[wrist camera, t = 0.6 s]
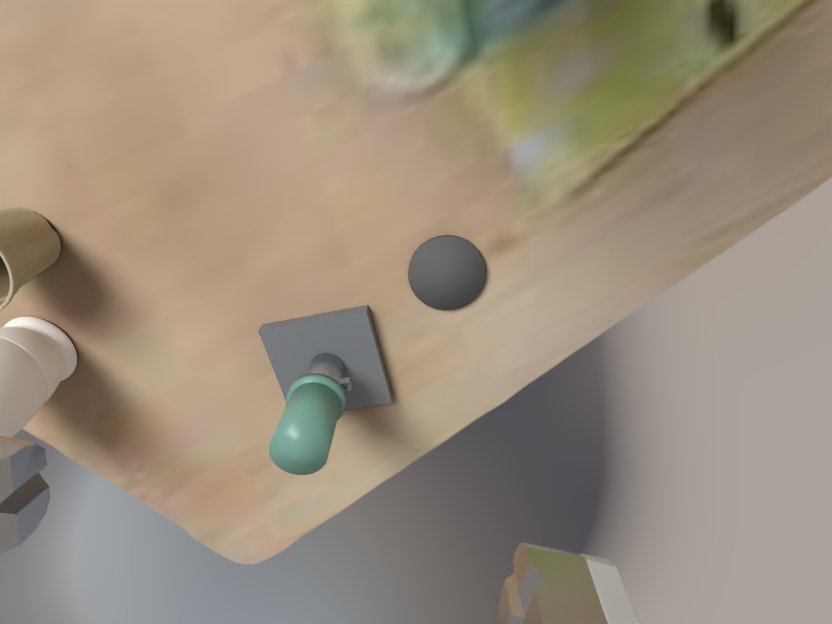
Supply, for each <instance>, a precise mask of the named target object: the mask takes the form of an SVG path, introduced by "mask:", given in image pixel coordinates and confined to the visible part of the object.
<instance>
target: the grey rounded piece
mask: <svg viewBox="0 0 832 624" xmlns="http://www.w3.org/2000/svg"><path fill="white" fill-rule="evenodd" d="M309 373H320V374H325V375H327V376H330V377H332V378H333V379H335V380H336V381H338V382H339V383H340V385H341V386H342V387H343V389H344V391H345V392H346V391H351V388H352V383H351V380H350V377H348V378H344V375H345V364H344V362H343V361H342V360H341V358H339V357H338V356H336V355H334V354H332V353H321V354H318V355H316V356H315V357H314V358H313V359H312V360H311V362H310V365H309V367H308V369H307V372H306V374H309Z"/></svg>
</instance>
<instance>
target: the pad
mask: <svg viewBox="0 0 832 624" xmlns="http://www.w3.org/2000/svg"><path fill="white" fill-rule="evenodd" d="M408 278H409V283H410V286H411V289H412V291H413V292H414V294H415V295H416V296H417V298H418V299H419V300H421V301H422V302H423V303H425V304H426V305H428V306H430V307H433V308H436V309H442V310H451V309H456V308H460V307H462V306H464V305H466V304H468V303H470V302H471V301H472V300H473V299H475V298H476V296H477V295H478V294H479V293H480V291H481V289H482V287H483V285H484V282H485V278H486V267H485V263H484V260H483V258H482V255H481V254H480V252H479V251H478V249H477V248H476V247H475V246H474V245H473V244H472V243H470V242H469V241H467V240H465V239H463V238H461V237H457V236H451V235H444V236H438V237H435V238H432V239H430V240H428V241H426V242H425V243H423V244H422V245H421V246H420V247H419V248H418V249H417V250H416V251H415V253H414V254H413V256H412V258H411V261H410V264H409V270H408Z"/></svg>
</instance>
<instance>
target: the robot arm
mask: <svg viewBox="0 0 832 624" xmlns="http://www.w3.org/2000/svg"><path fill="white" fill-rule="evenodd" d="M46 466H47V459H46V452H45V448H43V447H41V446H39V445H37V444H35V443H30V442H26V441H22V440H17V439H13V438H9V437H4V436H0V554H1V553H3V552H6V551H8V550H10V549H12V548H15V547H17V546H19V545H20V544H22V542H24V541H25V540H26V539H27V538H28V537H29V536H30V535H31V534H32V533H33V532H34V531H35V530H36V528H37V527H38V525H39V523H40V522H41V520H42V518H43V517H44V515H45V514H46V511H47V507H48V503H49V500H50V495H49V494H50V493H49V486H48V484H47V483H46V482H45V480H44V479H43V478H42V477H41V475H40V474H39V473H40V472H41V471H42V470H43V469H44V468H45V467H46ZM513 563H514V570H515V573H514V574H513V575H511V576H510V577H508V578H507V579H506V580H505V583H504V587H503V590H502V593H501V599H500V607H499V624H640V623H639V620H638V618H637V616H636V614H635V611H634V609H633V606H632V604H631V602H630V599H629V597H628V595H627V592H626V590H625V587H624V585H623V583H622V580H621V578H620V576H619V573H618V571H617V568H616V566H615V564H614V563H613V562H612V561H611V560H610V559H606V558H601V557H596V556H590V555H584V554H577V553H573V552H568V551H562V550H558V549H552V548H547V547H542V546H537V545H532V544H527V543H521V544H520V545H519V546H518V548H517V550H516V553H515V555H514V558H513Z"/></svg>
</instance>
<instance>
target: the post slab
mask: <svg viewBox="0 0 832 624" xmlns="http://www.w3.org/2000/svg"><path fill="white" fill-rule="evenodd" d="M259 334H260V336H261V339H262V341H263V344H264V346H265V349H266V351H267V354H268V356H269V359H270V362H271V364H272V367H273V369H274V372H275V374H276V377H277V379H278V382H279V384H280V387H281V389H282V392H283V395H284V397H285V400H286V397H287V393H288V391H289V389H290V387H291V385H292V383H293V382H294V381H295V380H296V379H297V378H299V377H300V376H302V375H305V374H306V372H307V369H308V367H309V365H310V362H311V360H312V359H313V358H314V357H315V356H316V355H318V354H321V353H332V354H334V355H336V356H338V357H339V358H341V360H342V361H343V362H344V364H345V375H344V378H348V377H350V380H351V383H352V388H351V391H346V392H345V394H346V404H345V408H344V411H346V410H352V409H358V408H364V407H370V406H377V405H383V404H389V403H392V397H393V395H392V391H391V388H390V384H389V380H388V377H387V373H386V369H385V366H384V362H383V358H382V355H381V351H380V347H379V344H378V340H377V337H376V333H375V329H374V326H373V322H372V318H371V315H370V311H369V307H368V305H366V306H361V307H355V308H350V309H345V310H339V311H334V312H328V313H323V314H318V315H312V316H307V317H301V318H296V319H290V320H285V321H280V322H274V323H269V324H263V325H262V326H261V328H260V329H259Z"/></svg>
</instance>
